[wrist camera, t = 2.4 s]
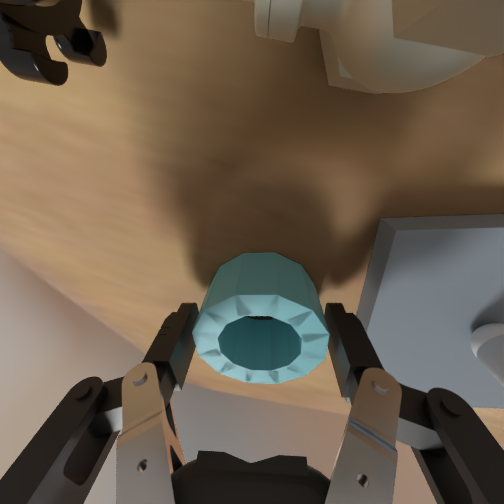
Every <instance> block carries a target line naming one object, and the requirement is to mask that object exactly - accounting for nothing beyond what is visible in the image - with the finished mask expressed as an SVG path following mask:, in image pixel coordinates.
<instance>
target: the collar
mask: <svg viewBox="0 0 504 504" xmlns="http://www.w3.org/2000/svg"><path fill="white" fill-rule="evenodd" d="M247 316H271V317H273V318H274V319H272V320H254V319H252V318H249V317H247ZM192 334H193V338H194V341H195V345H196V348H197V352H198V355H199V356H200V357H201V358H202V359H203V360H204V361H206V362H207V363H208V364H209V365H210V366H211V367H213V368H214V369H215V370H216V371H217V372H218V373H220V374H223V375H226V376H229V377H232V378H235V379H238V380H240V381H243V382H246V383H271V384H278V383H282V382H285V381H289V380H292V379H295V378H299V377H302V376H306V375H307V374H308V373H309V372H310V371H311V370H313V369H314V368H315V367H316V366H317V365H318V364H319V363H321V362H322V361H323V360H324V359H325V358H326V352H327V346H328V340H329V335H330V334H329V330H328V327H327V324H326V320H325V317H324V314H323V310H322V307H321V304H320V300H319V297H318V294H317V290H316V287H315V285H314V284H313V282H312V281H311V279H310V277H309V276H308V274H307V273H306V271H305V270H304V268H303V267H302V265H300V264H298V263H296V262H294V261H292V260H290V259H288V258H286V257H284V256H282V255H279V254H277V253H276V252H267V253H243V254H241V255H239V256H238V257H236V258H234V259H232V260H230V261H228V262H227V263H225V264H223V265H221V266H219V269H218V271H217V273H216V275H215V277H214V279H213V280H212V282H211V284H210V286H209V288H208V291H207V293H206V296H205V299H204V301H203V304H202V307H201V309H200V312H199V315H198V317H197V320H196V323H195V325H194V328H193V331H192Z"/></svg>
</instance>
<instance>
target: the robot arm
mask: <svg viewBox="0 0 504 504" xmlns="http://www.w3.org/2000/svg"><path fill="white" fill-rule="evenodd" d="M198 315H199V311H198V307H197V304H196V303H182V304H181V305H180V307H179V309H178V311H177V312H172V313H171V314H170V315H169V316H168V317H167V318H166V319H165V321H164V323H163V324H162V326H161V329H160V330H159V332H158V334H157V336H156V337H155V339H154V341H153V343H152V345H151V347H150V348H149V350H148V352H147V354H146V356H145V358H144V360H143V361H142V363H141V364H138V365H136V366H135V367H133V368H132V369H131V370H130V371H129V372H128V373H127V374H126V375H125V376H124V377H121V378H117V379H114V380H110V381H107V382H104V383H103V381H102V380H101V379H100V378H99V377H89V378H86V379H84V380H82V381H80V382H79V383H77V384H76V385H75V386H74V387H73V388H71V389H70V391H69V392H68V393H67V394H66V396H65V397H64V398H63V400H62V401H61V402H60V403H59V405H58V406H57V407H56V409H55V410H54V411H53V412H52V414H51V415H50V416H49V418H48V419H47V420H46V422H45V423H44V424H43V425H42V427H41V428H40V429H39V431H38V432H37V433H36V434H35V436H34V437H33V438H32V440H31V441H30V442H29V444H28V445H27V446H26V447H25V449H24V450H23V451H22V452H21V454H20V455H19V456H18V458H17V459H16V460H15V462H14V463H13V464H12V465H11V467H10V468H9V469H8V471H7V472H6V473H5V475H4V476H3V477H2V478H1V480H0V504H83V503H84V501H85V499H86V497H87V495H88V493H89V492H90V490H91V487H92V485H93V484H94V482H95V480H96V477H97V476H98V474H99V472H100V470H101V468H102V466H103V464H104V462H105V460H106V458H107V456H108V454H109V452H110V450H111V448H112V446H113V444H114V442H115V440H116V438H117V436H118V434H119V432H120V430H121V429H122V434H121V435H119V437H118V439H117V448H116V449H117V450H116V451H117V452H116V456H117V457H116V458H117V459H116V461H117V462H116V463H117V464H116V465H117V466H116V469H117V470H116V504H392V502H393V494H394V485H395V477H396V468H397V457H398V454H397V450H396V448H395V442H396V440H397V441H400V442H402V443H404V444H407V445H409V446H411V448H412V450H413V453H414V455H415V457H416V459H417V461H418V463H419V466H420V467H421V470H422V472H423V474H424V476H425V478H426V480H427V483H428V485H429V487H430V489H431V491H432V493H433V496H434V497H435V500H436V502H437V504H504V450H503V449H502V448H501V446H500V445H499V444H498V442H497V441H496V440H495V438H494V437H493V436H492V434H491V433H490V432H489V430H488V429H487V428H486V426H485V425H484V424H483V422H482V421H481V420H480V418H479V417H478V416H477V414H476V413H475V412H474V410H473V409H472V408H471V406H470V405H469V404H468V403H467V402H466V401H465V400H464V399H463V398H461V397H460V396H459V395H457V394H455V393H454V392H452V391H450V390H447V389H444V388H438V387H437V388H432V389H430V390H429V391H428V393H426V392H423V391H420V390H417V389H414V388H411V387H408V386H405V385H403V384H401V383H399V382H397V380H396V379H395V378H394V377H393V376H392V375H391V374H389V373H388V372H386V371H385V369H384V368H383V366H382V364H381V362H380V360H379V358H378V356H377V354H376V351H375V349H374V347H373V345H372V343H371V341H370V339H369V338H368V335H367V333H366V331H365V329H364V327H363V325H362V323H361V321H360V320H359V319H358V318H357V317H356V316H355V315H354V314H353V313H346V311H345V309H344V307H343V305H342V303H327V304H326V308H325V315H324V317H325V320H326V324H327V327H328V330H329V334H330V335H329V340H328V349H329V353H330V356H331V360H332V364H333V367H334V371H335V374H336V378H337V382H338V385H339V389H340V392H341V396H342V397H348V398H350V402H351V405H352V407H351V411H350V414H349V417H348V421H347V424H346V427H345V431H344V435H343V438H342V441H341V444H340V448H339V451H338V454H337V457H336V461H335V465H334V467H333V470H332V474H331V477H330V480H329V479H328V478H327V477H326V476H325V475H323V474H322V473H321V472H319V471H318V470H316V469H314V468H313V467H311V466H308V465H307V458H306V457H301V456H284V455H278V456H275V457H271V458H268V459H264V460H261V461H258V462H254V463H249V462H246V461H244V460H241V459H239V458H237V457H234V456H232V455H230V454H227V453H225V452H214V451H198V455H197V459H196V460H193V461H191V462H189V463H187V464H186V462H185V458H184V454H183V451H182V448H181V445H180V441H179V437H178V432H177V427H176V422H175V417H174V413H173V408H172V403H171V396H172V394H173V391H181V390H182V387H183V384H184V381H185V378H186V375H187V372H188V369H189V366H190V363H191V360H192V357H193V353H194V350H195V347H196V345H195V341H194V338H193V334H192V331H193V328H194V325H195V323H196V320H197V317H198Z"/></svg>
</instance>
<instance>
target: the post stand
mask: <svg viewBox="0 0 504 504" xmlns="http://www.w3.org/2000/svg"><path fill="white" fill-rule="evenodd" d="M356 317H357V318H358V319H359V320H360V321H361V323H362V325H363V327H364V329H365V331H366V333H367V335H368V338H369V339H370V341H371V343H372V345H373V347H374V349H375V351H376V354H377V356H378V358H379V360H380V362H381V364H382V366H383V368H384V369H385V371H386V372H388V373H389V374H391V375H392V376H393V377H394V378H395V379H396V380H397V382H399V383H401V384H403V385H405V386H408V387H411V388H414V389H417V390H420V391H423V392H426V393H428V391H429V390H430V389H432V388H437V387H438V388H444V389H447V390H450V391H452V392H454V393H455V394H457V395H459V396H460V397H461V398H463V399H464V400H465V401H466V402H467V403H468V404H469V405H470V406H471V407H478V408H504V214H483V215H454V216H425V217H395V218H380V222H379V226H378V230H377V234H376V238H375V242H374V246H373V250H372V255H371V259H370V263H369V267H368V271H367V275H366V279H365V283H364V287H363V291H362V295H361V299H360V304H359V308H358V312H357V316H356ZM345 400H346V402H347V403H351V402H350V398H348V397H345Z"/></svg>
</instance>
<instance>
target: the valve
mask: <svg viewBox="0 0 504 504" xmlns="http://www.w3.org/2000/svg"><path fill="white" fill-rule="evenodd" d="M242 1H247V2H252V3H254V26H255V33H256V35H257V36H259V37H264V38H269V39H274V40H279V41H285V42H290V43H292V42H294V40H295V37H296V34H297V30H298V29H299V28H300V27H301V26H306V27H311V28H316V29H319V34H320V40H321V46H322V51H323V57H324V63H325V69H326V74H327V80H328V84H329V85H330V86H334V87H339V88H344V89H350V90H355V91H360V92H366V93H371V94H381V93H384V92H385V93H405V92H412V91H417V90H421V89H425V88H428V87H431V86H434V85H436V84H439V83H442V82H444V81H446V80H448V79H450V78H452V77H454V76H456V75H458V74H460V73H462V72H463V71H465V70H467V69H468V68H470V67H472V66H473V65H475V64H476V63H478V62H480V61H481V60H482V59H484V58H485V57H487V56H492V57H496V56H499V55H502V54H504V0H242ZM81 5H82V0H0V61H1V62H2V63H3V65H4V66H5V67H6V68H7V69H8V70H9V71H10V72H11V73H13V74H14V75H15V76H17V77H19V78H21V79H24V80H28V81H34V82H39V83H45V84H50V85H56V86H60V85H63V84H64V83H65V82H66V81H67V78H68V65H67V64H66V63H65V62H61V61H55V60H51V57H50V55H49V52H48V50H47V47H46V36H47V35H52V36H53V37H54V40H55V42H56V45H57V46H58V48H59V50H60V51H61V53H62V54H63V55H64V56H65V57H66V58H67V59H68V60H70V61H72V62H76V63H81V64H87V65H92V66H98V67H102V66H103V65H104V64H105V63H106V59H107V51H106V45H105V42H104V39H103V36H102V34H101V32H99V31H93V30H88V29H86V27H85V26H84V24H83V23H82V22H81V20H80V18H79V14H80V11H81Z"/></svg>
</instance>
